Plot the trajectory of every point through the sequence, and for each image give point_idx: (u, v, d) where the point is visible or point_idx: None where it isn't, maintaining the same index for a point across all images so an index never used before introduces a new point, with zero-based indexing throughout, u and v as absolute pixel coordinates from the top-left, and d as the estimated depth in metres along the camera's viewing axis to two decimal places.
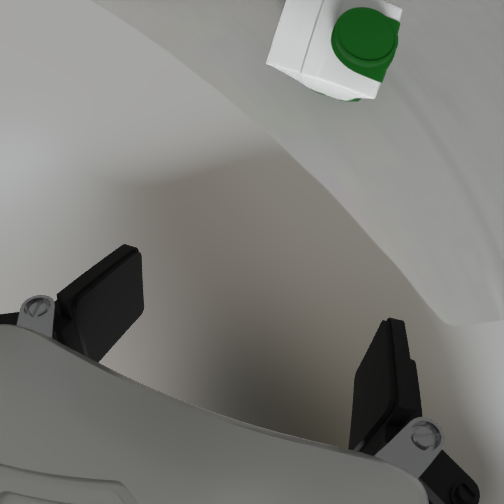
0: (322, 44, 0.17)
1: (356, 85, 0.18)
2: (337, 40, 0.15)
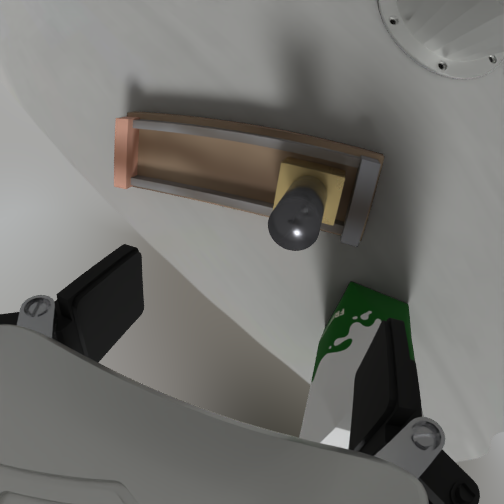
0: None
1: None
2: None
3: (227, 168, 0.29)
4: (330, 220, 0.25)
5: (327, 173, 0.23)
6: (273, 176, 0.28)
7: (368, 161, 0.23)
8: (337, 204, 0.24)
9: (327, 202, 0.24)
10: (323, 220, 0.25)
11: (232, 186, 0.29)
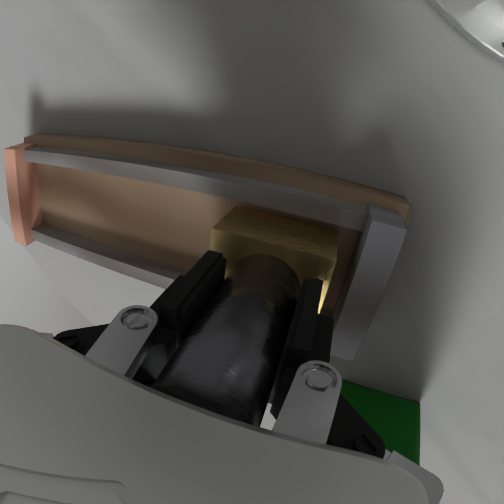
0: None
1: None
2: None
3: (145, 221, 0.17)
4: None
5: (301, 250, 0.12)
6: None
7: (383, 224, 0.12)
8: (319, 305, 0.13)
9: None
10: None
11: (154, 249, 0.18)
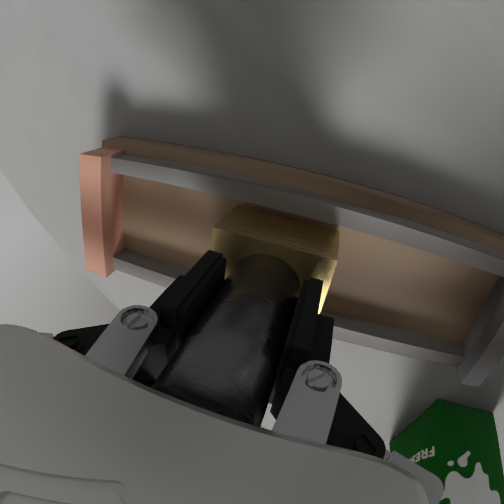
0: None
1: None
2: None
3: None
4: None
5: (302, 250, 0.12)
6: (371, 280, 0.15)
7: None
8: (319, 306, 0.13)
9: None
10: None
11: None
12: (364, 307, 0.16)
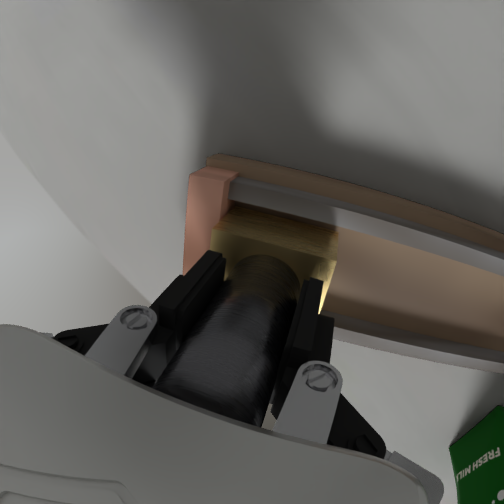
0: None
1: None
2: None
3: (413, 293, 0.15)
4: None
5: (301, 251, 0.12)
6: (477, 309, 0.14)
7: None
8: None
9: None
10: None
11: (412, 320, 0.16)
12: (466, 332, 0.15)
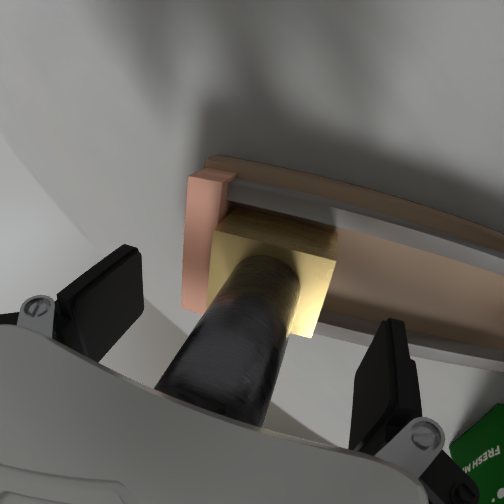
0: None
1: None
2: None
3: (410, 292, 0.15)
4: (306, 330, 0.14)
5: (301, 251, 0.12)
6: (474, 307, 0.14)
7: None
8: (319, 306, 0.13)
9: (301, 302, 0.13)
10: (293, 329, 0.14)
11: (410, 318, 0.16)
12: (464, 331, 0.15)
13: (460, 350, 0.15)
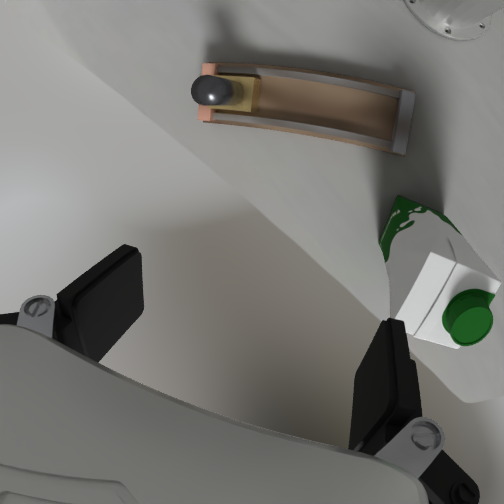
0: (435, 317, 0.23)
1: (449, 342, 0.23)
2: (451, 332, 0.21)
3: (298, 102, 0.34)
4: (248, 108, 0.33)
5: (242, 77, 0.31)
6: (335, 108, 0.33)
7: (406, 91, 0.28)
8: (251, 96, 0.32)
9: (244, 96, 0.32)
10: (243, 109, 0.33)
11: (302, 116, 0.34)
12: (335, 122, 0.34)
13: (333, 128, 0.33)
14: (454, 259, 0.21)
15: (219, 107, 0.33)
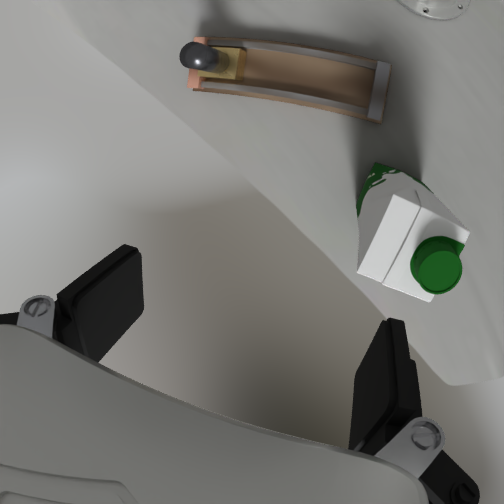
0: (403, 264, 0.24)
1: (420, 294, 0.25)
2: (418, 277, 0.23)
3: (281, 73, 0.35)
4: (232, 76, 0.34)
5: (229, 48, 0.32)
6: (315, 78, 0.34)
7: (382, 62, 0.29)
8: (236, 65, 0.33)
9: (230, 65, 0.33)
10: (228, 76, 0.34)
11: (284, 85, 0.36)
12: (314, 90, 0.35)
13: (312, 96, 0.35)
14: (418, 204, 0.23)
15: (206, 75, 0.34)
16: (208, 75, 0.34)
